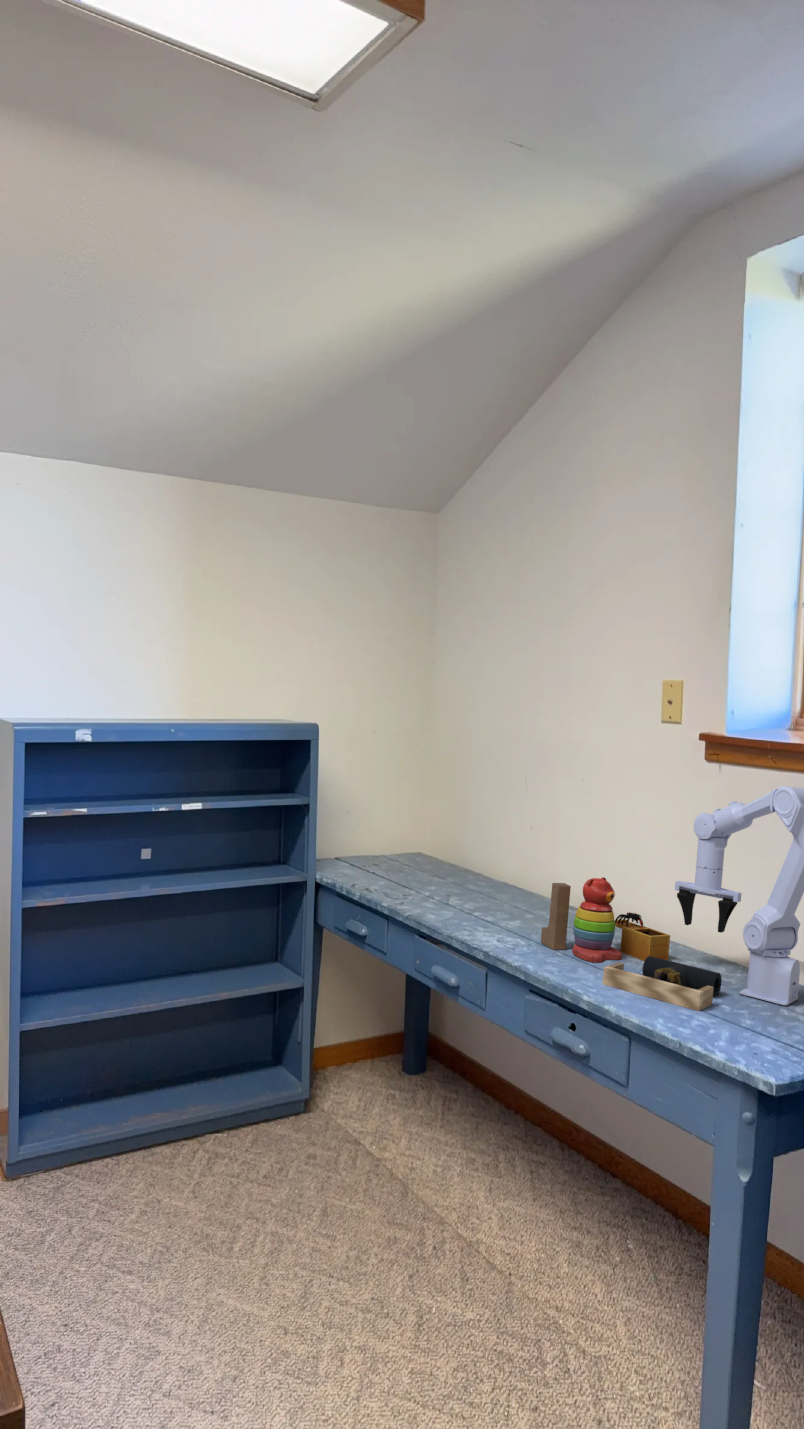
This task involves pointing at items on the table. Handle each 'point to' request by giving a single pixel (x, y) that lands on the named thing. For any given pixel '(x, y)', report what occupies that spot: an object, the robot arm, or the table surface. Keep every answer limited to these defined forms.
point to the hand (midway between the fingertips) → (704, 928)
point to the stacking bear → (595, 923)
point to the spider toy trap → (641, 939)
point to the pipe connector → (681, 974)
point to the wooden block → (557, 918)
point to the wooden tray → (657, 988)
